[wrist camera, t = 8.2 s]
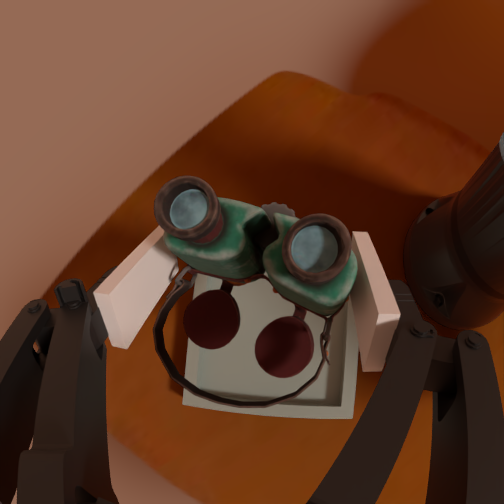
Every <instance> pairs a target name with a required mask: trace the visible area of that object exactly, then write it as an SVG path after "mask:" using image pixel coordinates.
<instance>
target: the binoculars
mask: <svg viewBox="0 0 504 504" xmlns="http://www.w3.org/2000/svg"><path fill="white" fill-rule="evenodd" d="M154 214H155V218H156V220H157V222H158V224H159V225H160V227H161V228H162V229H163V230H164V234H163V239H164V243H165V245H166V247H167V248H168V249H169V250H170V251H171V252H172V253H173V254H175V255H176V256H177V257H179V258H180V259H182V260H183V261H184V262H186V263H187V264H188V265H187V267H185V268H184V269H183V270H182V271H181V272H180V274H179V275H178V276H177V278H176V279H175V286H174V287H173V289H172V291H171V292H170V293H169V294H168V295H167V296H166V298H167V300H166V302H165V303H164V305H163V306H162V307H161V309H160V310H159V313H158V316H157V319H156V321H155V324H154V327H153V335H154V343H155V350H156V352H157V354H158V356H159V357H160V359H161V361H162V363H163V365H164V367H165V368H166V370H167V372H168V374H169V376H170V377H171V378H172V379H173V380H174V381H176V382H177V383H178V384H180V385H181V386H182V387H183V388H185V389H186V390H187V391H189V392H190V393H192V394H193V395H195V396H198V397H200V398H203V399H206V400H208V401H211V402H214V403H217V404H221V405H226V406H231V407H237V408H267V407H270V406H273V405H276V404H279V403H282V402H285V401H288V400H291V399H293V398H296V397H297V396H298V395H300V394H301V393H302V392H303V391H304V390H306V389H307V388H308V387H309V386H310V385H311V384H313V383H314V382H315V381H316V380H317V379H318V377H319V375H320V372H321V370H322V368H323V366H324V364H325V361H327V363H328V365H330V362H329V360H328V357H327V356H328V354H329V353H328V351H327V350H326V349H327V347H328V344H329V342H330V339H331V335H330V332H331V326H332V322H333V318H334V317H335V316H336V315H337V314H338V313H339V312H340V311H341V309H342V308H343V307H344V305H345V302H347V301H348V300H349V294H350V291H351V289H352V286H353V284H354V282H355V279H356V275H357V270H358V268H357V259H356V256H355V254H354V253H353V251H352V250H351V249H352V242H351V237H350V233H349V231H348V229H347V228H346V226H345V225H344V224H343V223H342V222H341V221H340V220H339V219H337V218H335V217H334V216H331V215H328V214H320V213H318V214H311V215H308V216H305V217H303V218H301V219H298V218H297V217H295V212H294V211H293V209H289V208H288V207H287V205H285V204H283V203H282V204H277V203H276V202H272V203H271V204H269V205H266V204H264V205H262V206H261V208H260V207H257V206H254V205H251V204H248V203H245V202H241V201H237V200H232V199H227V198H219V197H217V196H216V194H215V192H214V190H213V189H212V187H211V186H210V185H209V184H208V183H207V182H205V181H204V180H202V179H200V178H198V177H194V176H180V177H176V178H174V179H171V180H170V181H168V182H167V183H165V184H164V185H163V187H162V188H161V189H160V190H159V192H158V194H157V195H156V198H155V201H154ZM265 271H266V273H267V275H268V277H269V278H268V277H267V276H265V275H264V273H265ZM186 272H188V273H190V274H192V275H193V277H192V279H191V281H190V282H189V281H188V280H185V279H182V277H183V276H184V274H185V273H186ZM198 273H199V274H203V275H207V276H210V277H214V278H218V279H222V285H221V287H220V289H215V290H208V291H206V292H203V293H201V294H200V295H198V296H197V297H196V298H194V299H193V300H192V301H191V302H190V304H189V305H188V306H187V308H186V310H185V314H184V322H183V324H184V329H185V331H186V334H187V336H188V337H189V338H190V340H191V341H192V342H193V343H195V344H196V345H198V346H199V347H201V348H205V349H212V350H213V349H219V348H222V347H224V346H226V345H227V344H228V343H230V342H231V340H232V339H233V338H234V337H235V336H236V334H237V332H238V331H239V327H240V319H241V318H240V311H239V307H238V304H237V302H236V300H235V298H234V297H233V296H232V295H231V292H232V289H233V286H242V285H245V284H247V283H251V282H254V281H256V280H258V279H266V280H267V281H269V283H270V284H271V285H272V286H273V292H274V293H279V295H280V296H281V297H282V298H283V299H285V300H287V301H289V302H291V303H293V304H294V306H295V311H294V313H293V316H285V317H280V318H278V319H275V320H274V321H272V322H271V323H269V324H268V325H267V326H266V327H264V328H263V330H262V331H261V332H260V333H259V335H258V337H257V339H256V343H255V357H256V360H257V362H258V364H259V365H260V367H261V368H262V369H263V370H264V371H265V372H266V373H268V374H269V375H271V376H274V377H277V378H289V377H293V376H295V375H297V374H299V373H300V372H301V371H303V370H304V369H305V368H306V366H307V365H308V364H309V363H310V361H311V359H312V357H313V353H314V338H313V335H312V332H311V330H310V328H309V326H308V324H307V323H306V322H305V321H304V319H305V317H306V313H307V311H309V312H311V313H313V314H315V315H317V316H319V317H321V318H323V319H324V320H325V325H324V329H323V332H322V333H321V334H320V347H321V353H322V360H321V362H320V365H319V367H318V369H317V371H316V373H315V375H314V376H313V377H312V378H311V379H310V380H308V381H307V382H306V383H305V384H304V385H303V386H301V387H300V388H299V389H298V390H297V391H295V392H293V393H290V394H287V395H284V396H281V397H279V398H276V399H273V400H270V401H238V400H233V399H227V398H222V397H220V396H217V395H214V394H211V393H208V392H206V391H203V390H200V389H199V388H198V387H196V386H195V385H194V384H192V383H191V382H189V381H188V380H187V379H185V378H184V377H183V376H181V375H180V374H179V372H178V371H177V369H176V367H175V365H174V364H173V362H172V360H171V358H170V356H169V355H168V353H167V351H166V349H165V344H164V337H163V327H164V324H165V321H166V318H167V316H168V313H169V311H170V310H171V308H172V307H173V306H174V304H175V303H176V301H177V300H178V298H179V297H180V296H181V295H183V294H184V293H185V292H186V291H188V290H189V288H191V287H192V286H193V284H194V282H195V280H196V278H197V275H198ZM332 314H333V315H332ZM330 315H331V316H330ZM326 316H330V317H328V318H327V317H326ZM323 340H324V341H325V343H324V346H323ZM325 359H326V360H325Z"/></svg>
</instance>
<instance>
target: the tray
mask: <svg viewBox="0 0 504 504" xmlns="http://www.w3.org/2000/svg"><path fill="white" fill-rule="evenodd" d="M264 275H265V276H267V277H268V275H267V273H266V271H265V273H264ZM268 278H269V277H268ZM221 285H222V279H218V278H214V277H210V276H207V275H203V274H199V273H198V275H197V278H196V280H195V286H194V295H193V299H194V298H196V297H197V296H198V295H200V294H201V293H203V292H206V291H208V290H215V289H220V287H221ZM231 295H232V296H233V297H234V298H235V300H236V302H237V304H238V307H239V311H240V318H241V319H240V327H239V331H238V332H237V334H236V336H235V337H234V338H233V339H232V340H231V342H230V343H228V344H227V345H226V346H224V347H222V348H219V349H213V350H212V349H205V348H201V347H199V346H198V345H196V344H195V343H193V342H192V341H191V340H190V338H188V348H187V358H186V369H185V379H187V380H188V381H189V382H191V383H192V384H194V385H195V386H196V387H198V388H199V389H200V390H203V391H206V392H208V393H211V394H214V395H217V396H220V397H222V398H227V399H233V400H238V401H270V400H273V399H276V398H279V397H281V396H284V395H287V394H290V393H293V392H295V391H297V390H298V389H299V388H300V387H301V386H303V385H304V384H305V383H306V382H307V381H308V380H310V379H311V378H312V377H313V376H314V375H315V373H316V371H317V369H318V367H319V365H320V362H321V360H322V353H321V347H320V334H321V333H322V332H323V329H324V325H325V320H324V319H323V318H321V317H319V316H317V315H315V314H313V313H311V312H309V311H307V313H306V317H305V319H304V321H305V322H306V323H307V324H308V326H309V328H310V330H311V332H312V335H313V338H314V353H313V357H312V359H311V361H310V363H309V364H308V365H307V366H306V368H305V369H304V370H303V371H301V372H300V373H299V374H297V375H295V376H293V377H289V378H277V377H274V376H271V375H269V374H268V373H266V372H265V371H264V370H263V369H262V368H261V367H260V365H259V364H258V362H257V360H256V357H255V343H256V339H257V337H258V335H259V333H260V332H261V331H262V330H263V328H264V327H266V326H267V325H268V324H269V323H271V322H272V321H274V320H275V319H278V318H280V317H285V316H293V313H294V311H295V306H294V304H293V303H291V302H289V301H287V300H285V299H283V298H282V297H281V296H280V295H279V293H274V292H273V286H272V285H271V284H270V283H269V281H267V280H266V279H258V280H256V281H254V282H251V283H247V284H245V285H242V286H233V289H232V292H231ZM332 315H333V314H332ZM330 316H331V315H330ZM330 316H326V317H327V318H328V317H330ZM330 335H331V339H330V342H329V344H328V347H327V349H326V350H327V351H328V353H329V354H328V356H327V357H328V360H329V362H330V365H328V363H327V361H325V364H324V366H323V368H322V370H321V372H320V375H319V377H318V379H317V380H316V381H315V382H314V383H313V384H311V385H310V386H309V387H308V388H307V389H306V390H304V391H303V392H302V393H301V394H300V395H298V396H297V397H296V398H293V399H291V400H288V401H285V402H282V403H279V404H276V405H273V406H270V407H267V408H237V407H231V406H226V405H221V404H217V403H214V402H211V401H208V400H206V399H203V398H200V397H198V396H195V395H193V394H192V393H190V392H189V391H187V390H186V389H185V388H184V392H183V405H189V406H194V407H200V408H207V409H213V410H220V411H228V412H236V413H244V414H254V415H264V416H277V417H292V418H317V419H353V410H354V400H355V390H356V378H357V365H358V349H359V343H358V337H357V331H356V325H355V319H354V314H353V308H352V303H351V297H350V294H349V300H348V301H347V302H345V305H344V307H343V308H342V309H341V311H340V312H339V313H338V314H337V315H336V316H335V317H334V318H333V322H332V326H331V332H330ZM324 343H325V341H324V340H323V346H324ZM325 360H326V359H325Z"/></svg>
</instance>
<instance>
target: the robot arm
mask: <svg viewBox="0 0 504 504" xmlns="http://www.w3.org/2000/svg"><path fill="white" fill-rule="evenodd" d="M163 234H164V230H163V229H162V228H161V227H160V225H159V226H158V227H157V228H156V229H155V230H154V231H153V232H152V233H151V234H150V235H149V236H148V237H147V238H146V239H145V240H144V241H143V242H142V243H141V244H140V245H139V246H138V247H137V248H136V249H135V250H134V251H133V252H132V253H131V254H130V255H129V256H128V257H127V258H126V259H125V260H124V261H123V262H122V263H121V264H120V265H119V266H115V267H113V268H112V269H110V270H108V271H107V272H106V273H105V274H104V275H103V276H102V278H100V279H99V280H98V281H97V283H95V284H94V285H93V286H92V287H91V288H90V289H89V290H88V291H87V292H86V291H85V288H84V285H83V282H82V281H81V280H80V279H76V278H74V279H68V280H65V281H63V282H61V283H59V284H58V285H57V286H56V287H55V289H54V291H55V294H56V297H57V299H58V302H59V305H60V308H53V309H49V307H48V304H47V302H46V301H45V300H43V299H37V300H33V301H30V303H28V304H27V305H25V307H24V308H23V309H22V310H21V312H20V313H19V314H18V316H17V317H16V319H15V320H14V321H13V323H12V325H11V326H10V327H9V329H8V330H7V332H6V333H5V335H4V336H3V338H2V339H1V341H0V504H11V502H12V500H13V497H14V495H15V492H16V489H17V504H119V502H118V499H117V497H116V495H115V493H114V491H113V489H112V485H111V478H110V469H109V457H108V444H107V424H106V353H107V349H106V345H105V343H104V341H105V340H106V338H107V337H108V336H109V339H110V341H111V344H112V346H115V347H119V348H124V349H128V347H129V346H130V344H131V342H132V341H133V339H134V338H135V336H136V334H137V333H138V331H139V330H140V328H141V327H142V325H143V324H144V322H145V320H146V319H147V317H148V316H149V314H150V313H151V311H152V310H153V308H154V307H155V305H156V304H157V302H158V301H159V299H160V298H161V296H162V294H163V293H164V291H165V290H166V288H167V287H168V285H169V284H170V283H171V281H172V280H173V278H174V277H175V275H176V274H177V272H178V271H179V268H178V262H177V256H176V255H175V254H173V253H172V252H171V251H170V250H169V249H168V248H167V247H166V245H165V243H164V239H163ZM351 250H352V251H353V253H354V254H355V256H356V259H357V268H358V270H357V275H356V279H355V282H354V284H353V286H352V289H351V291H350V297H351V303H352V308H353V314H354V319H355V325H356V331H357V337H358V343H359V350H360V356H361V363H362V370H363V372H378V371H382V370H383V367H384V364H385V362H386V367H385V369H384V371H383V373H382V376H381V378H380V380H379V382H378V384H377V386H376V388H375V390H374V392H373V394H372V396H371V398H370V400H369V402H368V404H367V406H366V408H365V410H364V412H363V414H362V416H361V417H360V419H359V421H358V423H357V425H356V427H355V428H354V430H353V432H352V434H351V435H350V437H349V439H348V441H347V442H346V444H345V446H344V447H343V449H342V451H341V452H340V454H339V456H338V457H337V459H336V460H335V462H334V464H333V465H332V467H331V468H330V470H329V471H328V473H327V474H326V476H325V477H324V479H323V480H322V482H321V483H320V485H319V486H318V488H317V489H316V491H315V492H314V493H313V495H312V496H311V498H310V499H309V500H308V502H307V503H306V504H375V503H376V501H377V499H378V497H379V495H380V493H381V491H382V489H383V487H384V485H385V483H386V481H387V479H388V477H389V475H390V473H391V471H392V469H393V466H394V464H395V462H396V460H397V458H398V455H399V453H400V451H401V448H402V446H403V443H404V441H405V438H406V436H407V433H408V431H409V428H410V426H411V423H412V420H413V417H414V415H415V412H416V409H417V406H418V403H419V400H420V397H421V394H422V391H423V390H428V391H433V423H432V446H431V460H430V471H429V480H428V489H427V496H426V503H425V504H504V416H503V409H502V403H501V397H500V392H499V387H498V382H497V377H496V372H495V368H494V363H493V359H492V355H491V351H490V347H489V344H488V342H487V340H486V338H485V337H484V336H483V335H482V334H480V333H478V332H476V331H472V330H467V329H472V328H476V327H480V326H483V325H486V324H488V323H490V322H491V321H493V320H494V319H496V318H497V317H498V316H499V315H500V314H501V313H502V312H503V311H504V132H503V135H502V136H501V138H500V142H499V143H498V144H497V146H496V147H495V148H494V150H493V151H492V152H491V154H490V155H489V156H488V157H487V159H486V160H485V161H484V163H483V164H482V165H481V166H480V168H479V169H478V170H477V171H476V173H475V174H474V175H473V176H472V178H471V179H470V180H469V181H468V183H467V184H466V185H465V186H464V188H463V189H462V190H461V191H458V192H455V193H453V194H450V195H447V196H444V197H441V198H439V199H437V200H435V201H433V202H431V203H430V204H429V205H428V206H426V207H425V208H424V209H423V210H422V211H421V213H420V214H419V215H418V216H417V218H416V219H415V220H414V222H413V223H412V225H411V227H410V228H409V231H408V233H407V236H406V240H405V244H404V254H403V259H404V270H405V275H406V279H407V282H408V285H409V287H408V286H407V285H406V284H405V283H403V282H402V281H401V280H387V277H386V275H385V272H384V270H383V267H382V265H381V262H380V260H379V258H378V255H377V253H376V251H375V248H374V246H373V244H372V241H371V239H370V237H369V235H368V232H354V231H353V234H352V249H351ZM409 288H410V290H411V292H412V294H413V296H414V298H415V300H416V301H417V303H418V304H419V306H420V307H421V308H422V310H423V311H424V312H425V313H426V314H427V315H428V316H429V317H430V318H432V319H433V320H434V321H436V322H437V323H439V324H441V325H443V326H445V327H448V328H451V329H457V330H464V331H462V332H460V333H459V335H458V336H457V339H451V338H446V337H442V336H439V335H437V331H436V329H435V327H434V326H432V325H431V324H430V323H428V322H426V321H424V320H423V319H422V316H421V314H420V312H419V310H418V307H417V305H416V303H415V302H414V298H413V296H412V294H411V292H410V290H409ZM34 342H36V344H37V346H38V348H39V349H38V351H37V352H35V350H34V348H33V344H34ZM33 435H34V436H33ZM32 438H33V445H32V448H31V449H30V450H29V447H30V444H31V441H32Z"/></svg>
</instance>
